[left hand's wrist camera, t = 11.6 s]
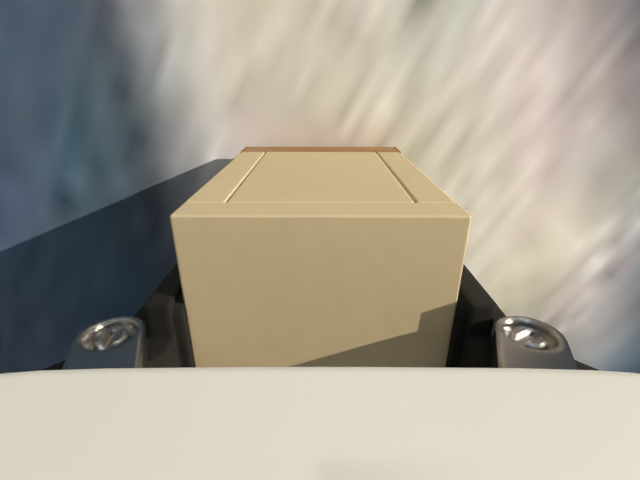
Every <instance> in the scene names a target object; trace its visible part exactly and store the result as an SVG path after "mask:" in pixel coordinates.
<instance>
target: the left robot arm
mask: <svg viewBox="0 0 640 480" xmlns="http://www.w3.org/2000/svg"><path fill="white" fill-rule="evenodd" d="M0 480H640V374H636V373H627V372H611V371H600V370H597V369H595V368H592V367H590V366H588V365H585V364H583V363H580V362H578V361H575V360H574V358H573V355H572V353H571V350H570V348H569V345H568V342H567V340H566V339H565V337H564V336H563V334H561V333H560V332H559V331H558V330H557V329H555V328H554V327H552V326H550V325H548V324H547V323H544V322H542V321H539V320H536V319H532V318H528V317H522V316H507V317H506V316H505V314H504V313H503V312H502V311H501V310H500V308H499V307H498V306H497V304H496V303H495V302H494V300H493V299H492V298H491V297H490V296H489V294H488V293H487V292H486V291H485V290H484V288H483V287H482V286H481V285H480V283H479V282H478V281H477V280H476V279H475V277H474V276H473V275H472V274H471V273H470V271H469V270H468V269H467V268H466V266H465V265H464V264H463V270H462V276H461V281H460V287H459V293H458V299H457V305H456V310H455V316H454V322H453V328H452V334H451V340H450V345H449V351H448V357H447V363H446V368H439V367H196V368H195V365H194V359H193V353H192V347H191V341H190V335H189V329H188V323H187V317H186V311H185V305H184V299H183V293H182V287H181V281H180V275H179V269H178V263H177V265H176V266H175V267H174V268H173V269H172V271H171V272H170V273H169V274H168V275H167V277H166V278H165V279H164V280H163V282H162V283H161V284H160V285H159V286H158V288H157V289H156V290H155V291H154V292H153V294H152V295H151V296H150V297H149V299H148V300H147V301H146V302H145V303H144V305H143V306H142V308H141V309H140V310H139V311H138V312H137V314H136V315H135V316H134V317H133V316H118V317H112V318H108V319H104V320H101V321H98V322H96V323H93V324H92V325H90V326H88V327H86V328H85V329H83V330H82V331H81V332H80V333H79V334H77V336H76V337H75V339H74V340H73V342H72V345H71V348H70V350H69V353H68V355H67V358H66V360H65V361H62V362H60V363H58V364H55V365H53V366H50V367H48V368H45V369H43V370H41V371H28V372H15V373H3V374H0Z"/></svg>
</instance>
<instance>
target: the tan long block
mask: <svg viewBox="0 0 640 480" xmlns="http://www.w3.org/2000/svg"><path fill="white" fill-rule="evenodd" d="M170 221H171V227H172V233H173V239H174V245H175V251H176V257H177V263H178V269H179V275H180V281H181V287H182V293H183V299H184V305H185V311H186V317H187V323H188V329H189V335H190V341H191V347H192V353H193V359H194V365H195V368H196V367H439V368H446V363H447V357H448V351H449V345H450V340H451V334H452V328H453V322H454V316H455V310H456V305H457V299H458V293H459V287H460V281H461V276H462V270H463V264H464V258H465V252H466V246H467V240H468V235H469V229H470V223H471V215H470V214H468V213H467V212H466V211H465V210H464V209H463V208H462V207H461V206H459V205H458V204H457V203H455V202H454V201H453V200H452V199H451V198H450V197H449V196H448V195H447V194H446V193H444V192H443V191H442V190H441V189H440V188H439V187H438V186H437V185H435V184H434V183H433V182H432V181H431V180H430V179H429V178H428V177H426V176H425V175H424V174H423V173H422V172H421V171H420V170H419V169H418V168H416V167H415V166H414V165H413V164H412V163H411V162H410V161H409V160H407V159H406V158H405V157H404V156H403V155H402V154H401V152H400V151H399V150H398V149H397V148H396V147H246V148H245V149H243V150H242V151H241V153H240V154H239V155H238V156H237V157H236V158H234V159H233V160H232V161H231V162H230V163H229V164H228V165H226V166H225V167H224V168H223V169H222V170H221V171H220V172H219V173H217V174H216V175H215V176H214V177H213V178H212V179H211V180H209V181H208V182H207V183H206V184H205V185H204V186H203V187H201V188H200V189H199V190H198V191H197V192H196V193H195V194H194V195H192V196H191V197H190V198H189V199H188V200H187V201H186V202H185V203H183V204H182V205H181V206H180V207H179V208H178V209H177V210H176V211H174V212H173V213H172V214H171V215H170Z"/></svg>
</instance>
